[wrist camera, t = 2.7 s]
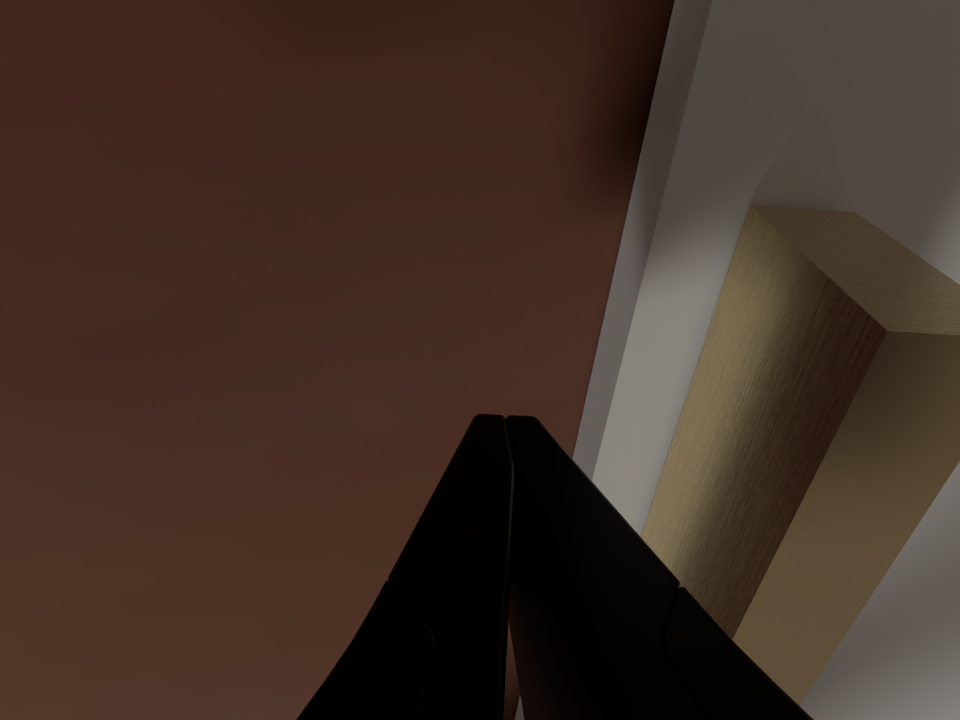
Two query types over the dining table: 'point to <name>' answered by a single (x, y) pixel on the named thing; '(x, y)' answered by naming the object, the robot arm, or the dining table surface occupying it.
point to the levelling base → (712, 241)
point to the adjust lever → (809, 434)
